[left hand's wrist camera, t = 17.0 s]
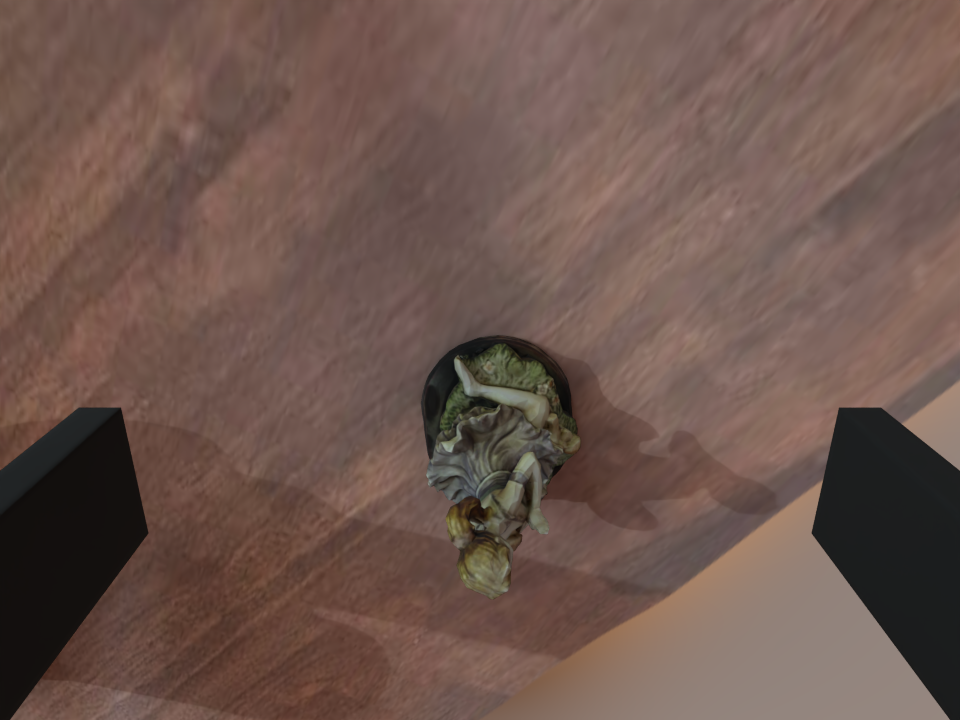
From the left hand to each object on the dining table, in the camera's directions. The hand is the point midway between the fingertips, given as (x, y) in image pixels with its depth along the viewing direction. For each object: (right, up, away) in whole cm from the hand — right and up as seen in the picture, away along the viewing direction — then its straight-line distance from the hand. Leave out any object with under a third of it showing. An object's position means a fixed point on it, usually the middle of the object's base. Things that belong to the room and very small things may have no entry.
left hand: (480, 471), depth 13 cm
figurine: (+1, -2, +33) cm, 33 cm away
